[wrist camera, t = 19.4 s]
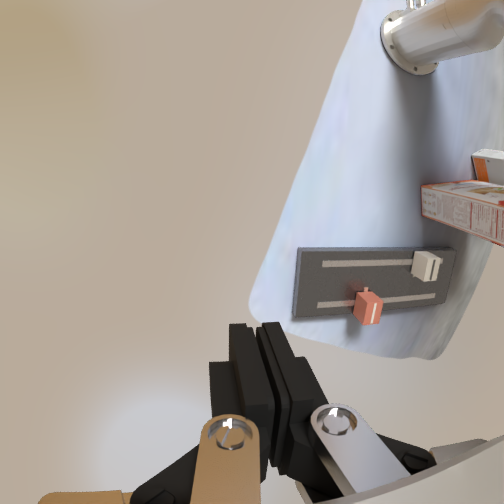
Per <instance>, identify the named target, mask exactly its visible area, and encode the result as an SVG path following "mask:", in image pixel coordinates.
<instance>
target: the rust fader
mask: <svg viewBox="0 0 504 504" xmlns="http://www.w3.org/2000/svg"><path fill="white" fill-rule="evenodd" d="M383 302H384V301H383V300H381V299H380V298H379V297H378V296H377V295H376V294H375V293H373V292H372V291H371V292H357V294H356V300H355V306H354V311H353V315H354V316H355V317H356V318H357V319H358V320H359V321H360V322H361V324H362V325H370V324H379V320H380V316H381V311H382V307H383Z"/></svg>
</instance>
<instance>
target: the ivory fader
mask: <svg viewBox="0 0 504 504" xmlns="http://www.w3.org/2000/svg"><path fill="white" fill-rule="evenodd" d="M440 260H441V258H439V257H438V256H436V255H434V254H432V253H430V252H428V251H415V253H414V259H413V264H412V270H411V274H413V275H414V276H416V277H417V278H419V279H421V280H422V281H436V279H437V275H438V270H439V265H440Z"/></svg>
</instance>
